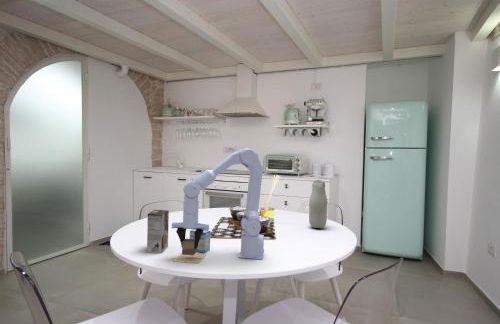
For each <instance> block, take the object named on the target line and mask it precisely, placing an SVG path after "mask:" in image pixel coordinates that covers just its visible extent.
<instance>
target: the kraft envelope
mask: <svg viewBox="0 0 500 324" xmlns="http://www.w3.org/2000/svg"><path fill="white" fill-rule="evenodd" d="M206 255H207V254H206V253H195V254H194V255H182V252H181V253H180V254H179V255H178V256H177V257H176V258H175V259H174V260H173V261H172V262H174V263H176V262H177V263H188V264H200V263H201V262H202V260H203V259H204V258H205V256H206Z"/></svg>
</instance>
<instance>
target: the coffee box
mask: <svg viewBox="0 0 500 324" xmlns="http://www.w3.org/2000/svg"><path fill="white" fill-rule="evenodd" d="M169 212H170V211H169V210H166V209H165V210H164V209H154V210H152V211H150V212H149V213H147V231H146V233H147V235H146V238H147V239H146V253H149V254H163V252H164V251H165V250H166V249H167V248H169V214H170V213H169Z"/></svg>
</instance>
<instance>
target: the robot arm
mask: <svg viewBox="0 0 500 324" xmlns="http://www.w3.org/2000/svg"><path fill="white" fill-rule="evenodd" d="M234 165H242V166H244V167H245V168H246V169H247V170H248V172H249V178H248V188H247V198H246V204H245V211H244V212H243V217H242V218H241V219H240V227H241V229H242V230H241V235H240V236H241V237H240V238H241V239H240V241H241V242H240V252H239V255H238V258H241V259H253V260H263V258H264V257H263V256H264V254H265V249H264V245H265V244H264V243H265V235H264V234H260V232H261V229H262V226H261V222H260V218H261V217H260V214H259V207H260V199H261V198H260V197H261V191H262V190H261V189H262V181H263V172H264V170H263V169H264V168H263V165H262V163H261V160H260V158H259V155H258V153H257V152H256V151H255V150H254V149H252V148H250V147H246V148H243V147H242V148H239V149H238V150H237V151H234V152H232V153H231V154H229V155H228V156H226V157H225V158H224V159H223V160H221V161H220V162H219V163H218V164H217V165H215V166H214V167H213V168H212V169H208V168H206V169H205V170H204V169H203V170H201V171H200V173H199V174H198V175H197V176H195V177H192V178H191V179H190V180H191V181H188V182H186V183H185V184H184V186H183V189H182V190H183V193H184V196H183V208H182V209H183V213H182V214H183V217H182V220H183V221H182V222H181V221H180V222H172V223H171V229H176V234H177V236H178V238H179V241H180V244H181V245H180V246H181V247H182V242H183V241H184V240H185V239H186V235H187V234H186V233H187V230H192V229H196V231H194V235H195V249H197V248H198V243H199V240H200V237H201V235H202V233H203V231H204V230H205V231H210V224H207V223H205V224H204V223H200V222H199V203H200V201H199V195H200V193H201V191H203V190H205V189H207V188H208V187H209V186H210V185H212V184H213V183H215V182H216V179H217V176H218V175H220V174H221V173H223V172H224V171H226V170H227V169H228V168H230V167H231V166H234Z"/></svg>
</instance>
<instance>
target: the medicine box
mask: <svg viewBox="0 0 500 324" xmlns="http://www.w3.org/2000/svg"><path fill="white" fill-rule="evenodd" d="M194 231H196V229H189V238H188V239H195V235H194ZM211 232H212V231H211V230H208V231H205V230H204V231H203V233H202V235H201V237H200V240H199V243H198V248H197V252H196V253H200V254H206V253H208V252H210V251H211V250H210V249H211Z"/></svg>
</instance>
